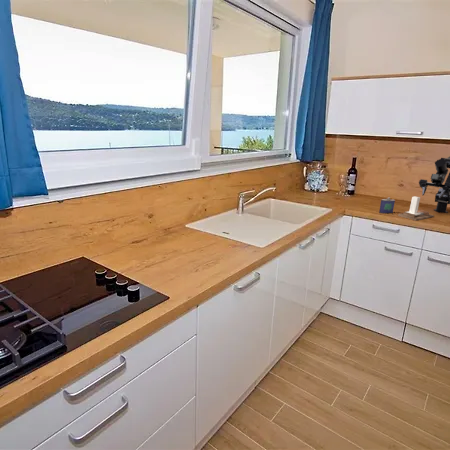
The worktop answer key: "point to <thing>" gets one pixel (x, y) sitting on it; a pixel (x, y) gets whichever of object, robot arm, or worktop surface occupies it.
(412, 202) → the slider
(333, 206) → the worktop surface
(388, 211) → the flask
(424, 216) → the rail board
